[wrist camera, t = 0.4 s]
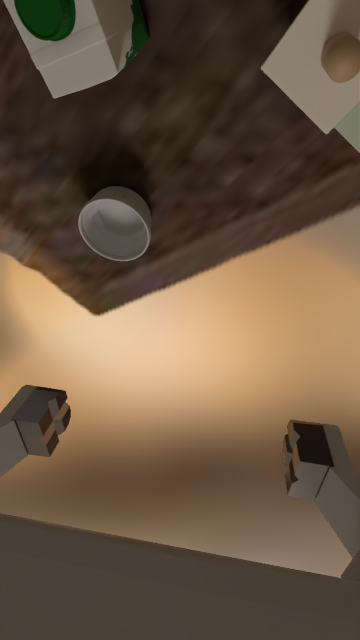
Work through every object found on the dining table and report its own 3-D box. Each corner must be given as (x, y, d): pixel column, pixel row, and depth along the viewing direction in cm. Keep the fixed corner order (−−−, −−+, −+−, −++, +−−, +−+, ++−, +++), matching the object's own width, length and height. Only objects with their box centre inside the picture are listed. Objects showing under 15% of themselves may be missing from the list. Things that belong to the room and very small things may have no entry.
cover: (352, -63, 30) (366, -65, 26) (421, 34, 34) (440, 43, 31) (260, 67, 38) (262, 78, 35) (325, 132, 42) (332, 148, 39)
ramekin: (163, 238, 65) (157, 259, 60) (104, 243, 68) (94, 264, 63) (146, 174, 55) (137, 194, 51) (78, 183, 58) (64, 202, 54)
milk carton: (131, -56, 35) (67, -62, 22) (159, 45, 42) (121, 86, 29) (66, -22, 38) (-24, -9, 25) (101, 68, 44) (44, 115, 31)
